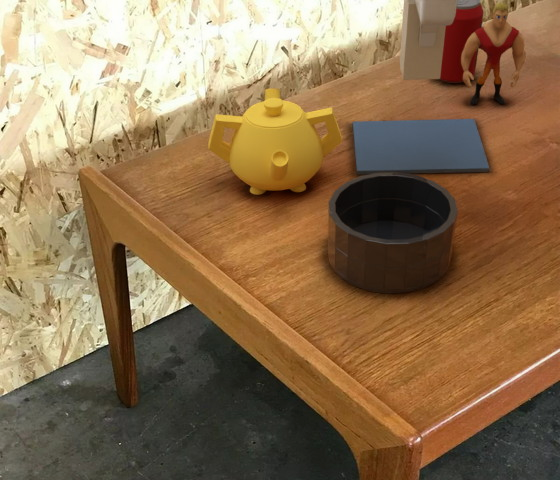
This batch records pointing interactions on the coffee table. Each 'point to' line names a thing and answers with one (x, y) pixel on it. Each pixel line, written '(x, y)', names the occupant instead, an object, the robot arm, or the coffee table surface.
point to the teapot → (275, 143)
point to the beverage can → (460, 40)
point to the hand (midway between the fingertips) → (423, 34)
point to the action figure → (494, 51)
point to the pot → (391, 232)
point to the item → (419, 48)
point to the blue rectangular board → (418, 146)
